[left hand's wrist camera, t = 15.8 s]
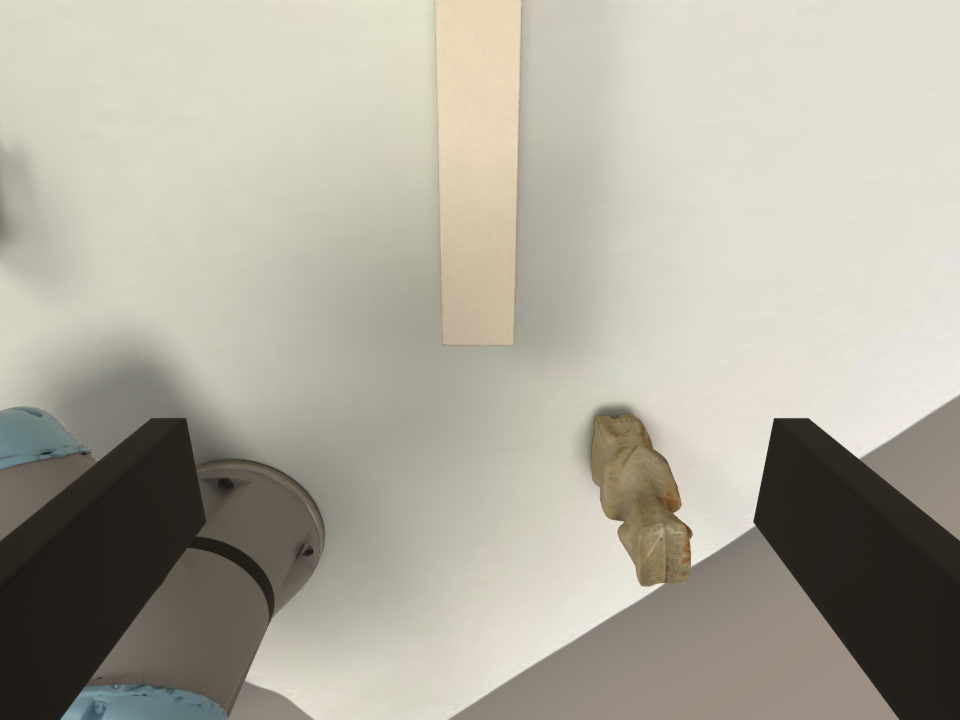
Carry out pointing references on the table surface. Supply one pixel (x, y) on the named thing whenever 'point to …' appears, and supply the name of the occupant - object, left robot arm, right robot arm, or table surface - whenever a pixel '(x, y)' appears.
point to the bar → (478, 166)
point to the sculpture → (641, 500)
